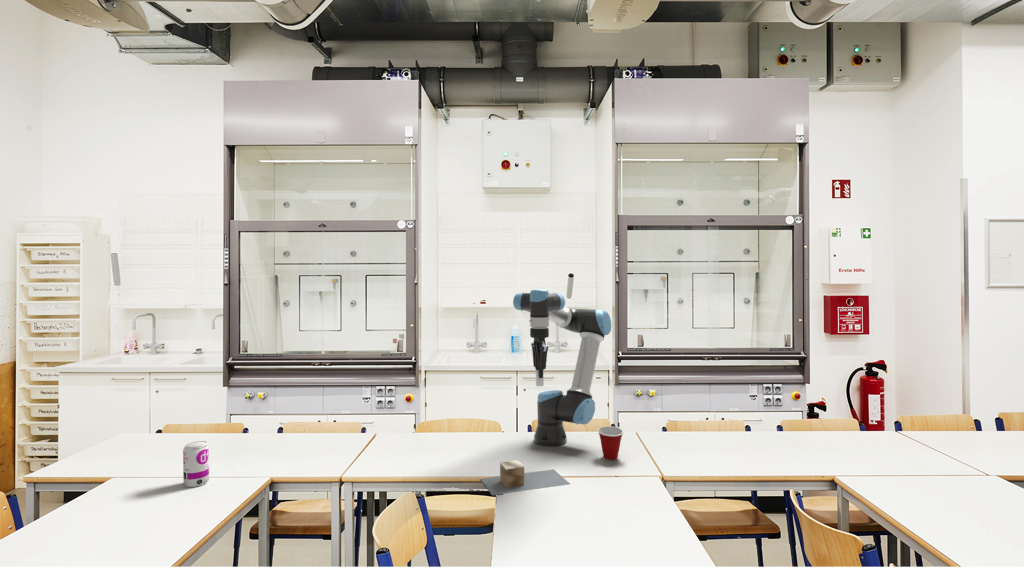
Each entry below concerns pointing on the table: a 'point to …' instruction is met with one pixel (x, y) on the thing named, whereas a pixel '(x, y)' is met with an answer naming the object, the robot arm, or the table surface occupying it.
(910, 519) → the table surface
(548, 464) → the table surface
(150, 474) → the table surface
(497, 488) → the rubber mat
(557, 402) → the robot arm
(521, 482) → the light wooden block
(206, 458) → the supplement can
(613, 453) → the plastic cup
